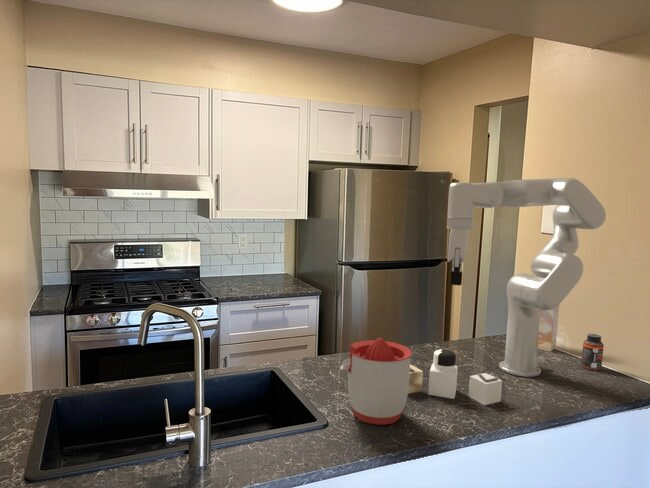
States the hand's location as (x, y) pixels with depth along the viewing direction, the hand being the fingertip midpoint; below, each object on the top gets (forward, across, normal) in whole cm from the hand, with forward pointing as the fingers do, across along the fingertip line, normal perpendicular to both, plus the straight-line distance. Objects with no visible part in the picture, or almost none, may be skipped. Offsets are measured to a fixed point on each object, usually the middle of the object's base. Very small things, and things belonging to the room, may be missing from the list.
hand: (456, 284), depth 144 cm
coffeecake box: (+29, -47, +28) cm, 62 cm away
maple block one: (+29, +14, -11) cm, 34 cm away
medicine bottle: (+29, +13, -2) cm, 32 cm away
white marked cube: (+29, +13, +10) cm, 33 cm away
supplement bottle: (+29, -28, +44) cm, 60 cm away
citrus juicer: (+29, +34, -17) cm, 48 cm away
